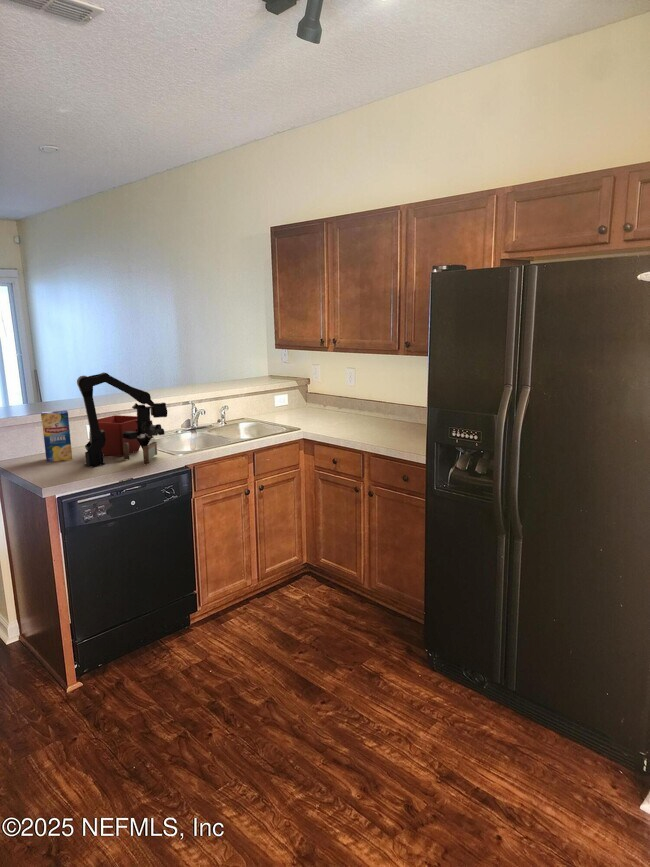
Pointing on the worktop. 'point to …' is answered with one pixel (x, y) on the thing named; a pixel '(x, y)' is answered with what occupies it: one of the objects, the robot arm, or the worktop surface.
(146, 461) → the gate frame
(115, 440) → the plant pot
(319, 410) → the worktop surface
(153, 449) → the panel
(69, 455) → the blue cardboard box
